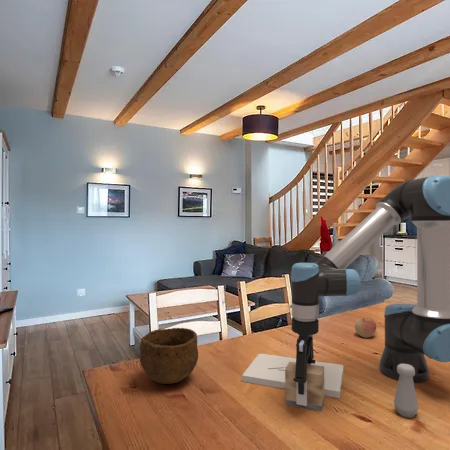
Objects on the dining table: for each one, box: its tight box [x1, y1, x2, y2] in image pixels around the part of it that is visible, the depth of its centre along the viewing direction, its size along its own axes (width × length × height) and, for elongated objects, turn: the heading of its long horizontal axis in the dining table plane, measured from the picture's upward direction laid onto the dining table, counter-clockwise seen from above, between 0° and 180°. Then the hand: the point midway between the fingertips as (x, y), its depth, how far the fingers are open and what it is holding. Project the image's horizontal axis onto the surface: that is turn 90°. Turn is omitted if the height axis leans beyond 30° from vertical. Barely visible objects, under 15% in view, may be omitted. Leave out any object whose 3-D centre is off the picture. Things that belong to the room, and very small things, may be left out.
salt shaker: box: [393, 364, 419, 419], centre depth 94 cm, size 6×6×13 cm
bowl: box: [139, 327, 199, 385], centre depth 114 cm, size 19×19×15 cm
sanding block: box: [284, 362, 325, 412], centre depth 100 cm, size 10×6×10 cm, turn 68°
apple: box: [354, 317, 377, 339], centre depth 156 cm, size 9×9×8 cm
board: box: [241, 353, 345, 399], centre depth 117 cm, size 30×20×2 cm, turn 68°
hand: (305, 394), depth 100 cm, fingers open, 11 cm apart
